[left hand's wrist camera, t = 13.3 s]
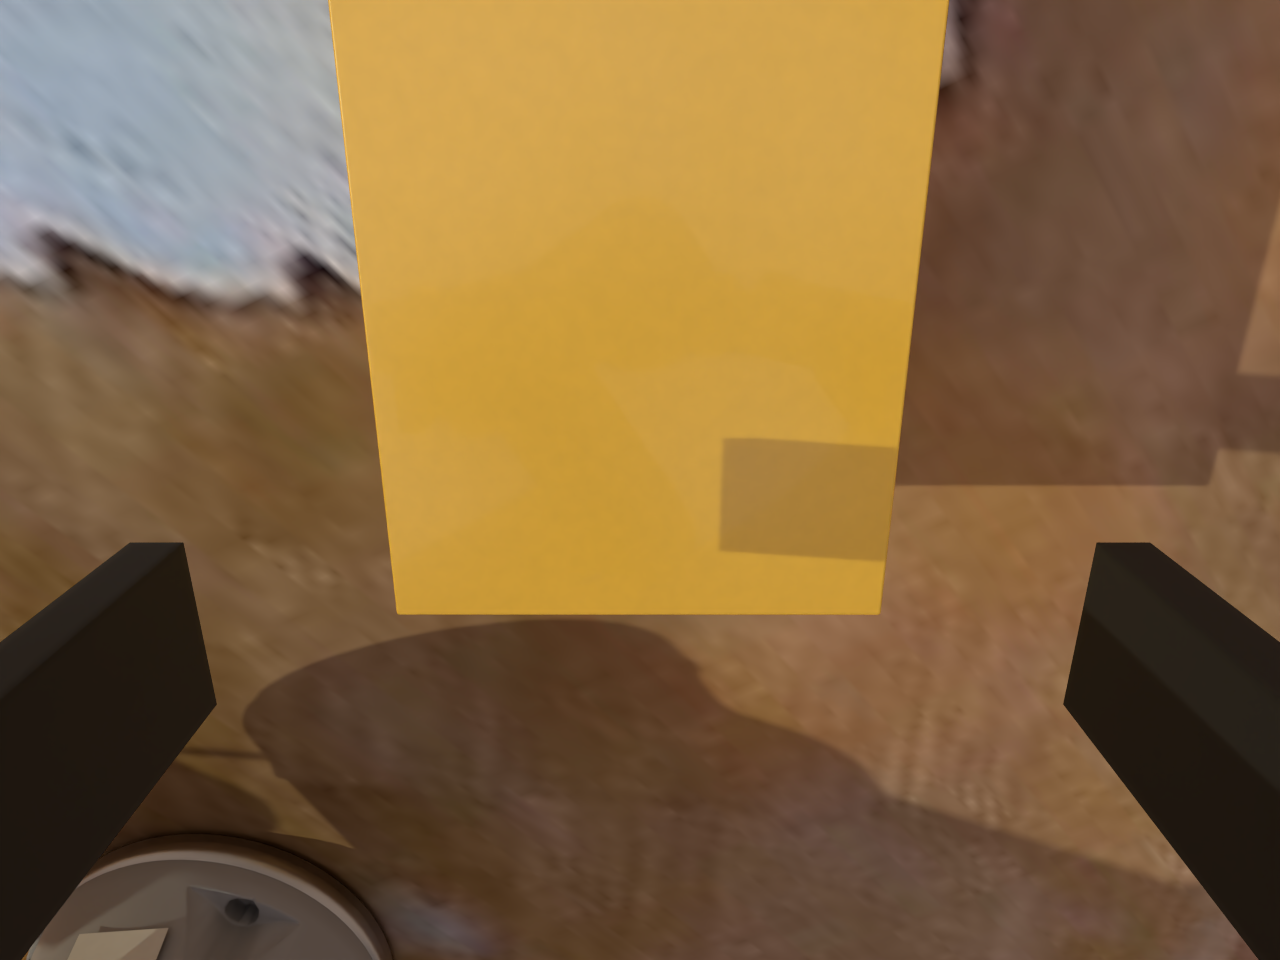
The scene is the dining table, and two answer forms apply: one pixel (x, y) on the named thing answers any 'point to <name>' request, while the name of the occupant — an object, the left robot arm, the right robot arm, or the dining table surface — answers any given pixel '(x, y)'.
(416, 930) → the dining table surface
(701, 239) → the yellow rectangular block
